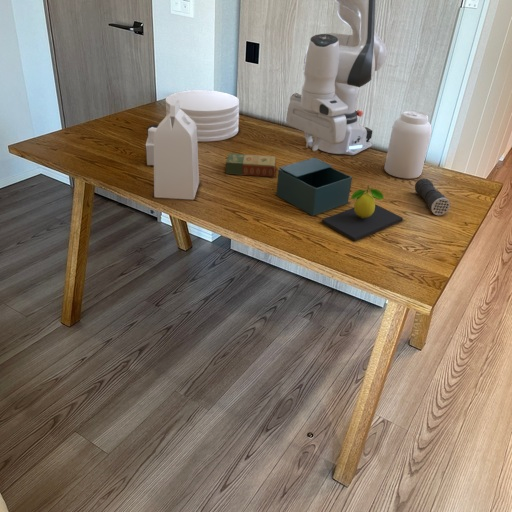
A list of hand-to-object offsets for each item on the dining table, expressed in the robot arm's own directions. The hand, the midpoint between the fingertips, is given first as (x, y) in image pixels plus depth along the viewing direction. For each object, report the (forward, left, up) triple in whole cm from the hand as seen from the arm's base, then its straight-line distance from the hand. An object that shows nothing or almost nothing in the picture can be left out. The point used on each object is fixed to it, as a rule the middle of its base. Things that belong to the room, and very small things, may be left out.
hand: (311, 149), depth 142 cm
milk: (+30, -24, -15) cm, 42 cm away
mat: (-2, +21, -15) cm, 25 cm away
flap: (0, -1, -6) cm, 6 cm away
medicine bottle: (+24, -46, -15) cm, 54 cm away
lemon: (-2, +21, -14) cm, 25 cm away
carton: (+3, -24, -15) cm, 28 cm away
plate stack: (-7, -66, -15) cm, 68 cm away
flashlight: (-28, +25, -15) cm, 40 cm away
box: (0, +3, -15) cm, 15 cm away
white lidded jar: (-41, +5, -15) cm, 44 cm away
